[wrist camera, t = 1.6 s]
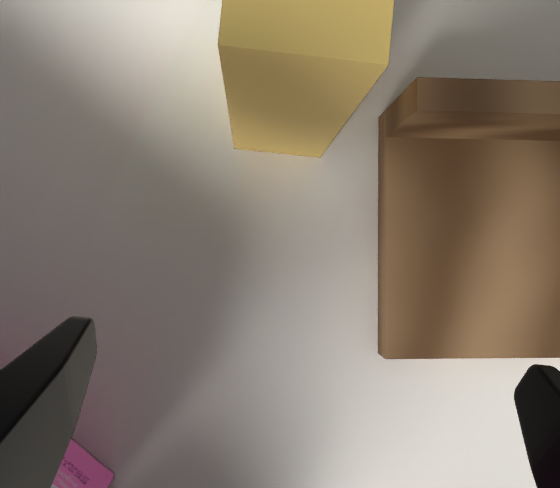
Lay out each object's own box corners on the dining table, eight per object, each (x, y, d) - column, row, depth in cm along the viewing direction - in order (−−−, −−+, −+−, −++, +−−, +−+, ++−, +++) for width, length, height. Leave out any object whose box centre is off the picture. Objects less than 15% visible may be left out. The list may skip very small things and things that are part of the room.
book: (234, 148, 22) (217, 44, 11) (245, 31, 22) (240, -189, 11) (320, 157, 22) (388, 64, 11) (331, 41, 22) (408, -164, 11)
